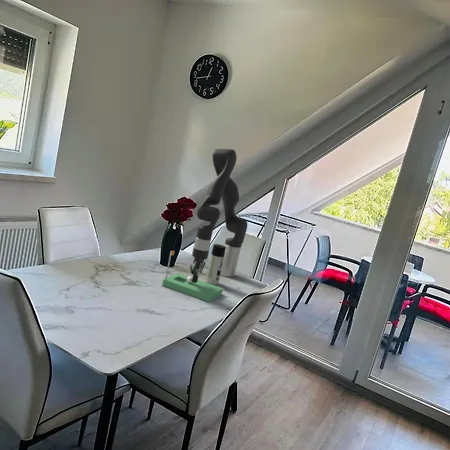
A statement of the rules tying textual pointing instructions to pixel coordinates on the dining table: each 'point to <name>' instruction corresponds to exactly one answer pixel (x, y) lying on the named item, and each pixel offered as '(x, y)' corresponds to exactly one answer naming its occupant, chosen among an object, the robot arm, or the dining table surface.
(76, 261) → the dining table surface
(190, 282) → the ball
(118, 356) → the dining table surface
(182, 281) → the putting green
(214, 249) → the spray can
